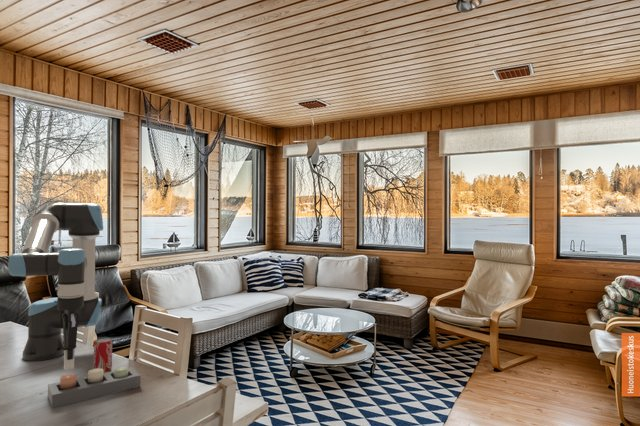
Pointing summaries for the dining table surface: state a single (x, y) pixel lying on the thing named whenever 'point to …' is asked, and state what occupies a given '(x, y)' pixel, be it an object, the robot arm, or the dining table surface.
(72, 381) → the button rust
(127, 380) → the grey slotted tray
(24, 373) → the dining table surface
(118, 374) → the button sage
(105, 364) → the beverage can
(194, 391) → the dining table surface
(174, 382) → the dining table surface
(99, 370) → the button cream
